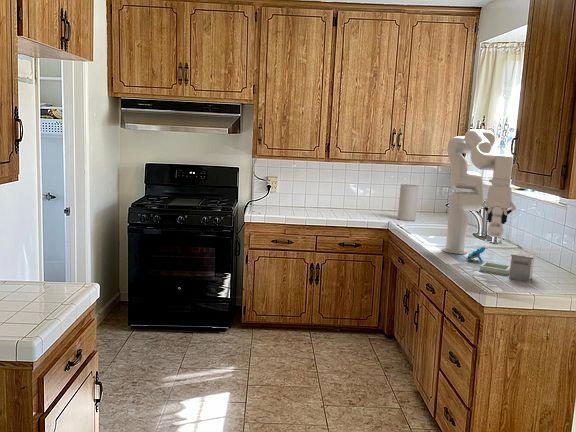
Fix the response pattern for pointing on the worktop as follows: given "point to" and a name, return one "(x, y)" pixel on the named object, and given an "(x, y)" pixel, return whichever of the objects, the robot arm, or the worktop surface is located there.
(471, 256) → the gear
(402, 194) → the cylinder vase
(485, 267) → the tray
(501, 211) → the plastic bottle
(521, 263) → the grey box
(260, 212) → the worktop surface
